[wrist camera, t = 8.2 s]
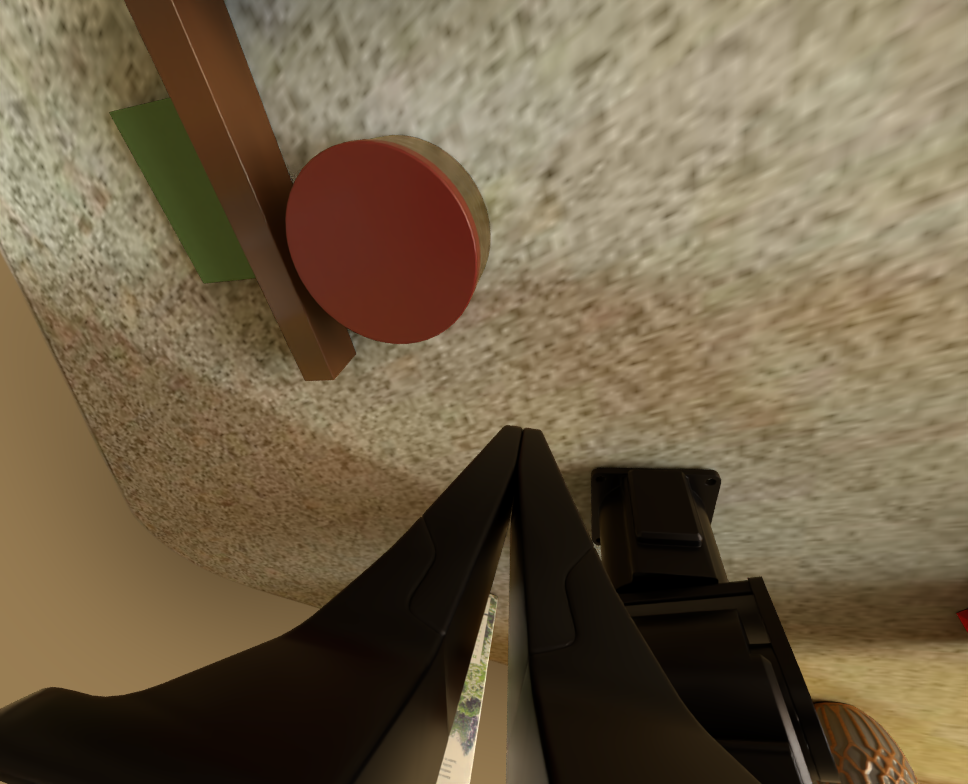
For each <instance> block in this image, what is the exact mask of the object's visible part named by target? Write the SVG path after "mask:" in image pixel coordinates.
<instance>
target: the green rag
mask: <svg viewBox="0 0 968 784" xmlns="http://www.w3.org/2000/svg"><path fill="white" fill-rule="evenodd" d="M110 115H111V117H112V119H113V120H114V122H115V124H116V126H117V128H118V130H119V131H120V133H121V135H122V137H123V139H124V140H125V142H126V144H127V146H128V148H129V149H130V151H131V153H132V155H133V157H134V158H135V160H136V162H137V164H138V166H139V167H140V169H141V171H142V173H143V175H144V176H145V178H146V180H147V182H148V184H149V186H150V187H151V189H152V191H153V193H154V195H155V196H156V198H157V200H158V202H159V204H160V205H161V207H162V209H163V211H164V213H165V214H166V216H167V218H168V220H169V222H170V223H171V225H172V227H173V229H174V231H175V232H176V234H177V236H178V238H179V240H180V242H181V243H182V245H183V247H184V249H185V251H186V252H187V254H188V256H189V258H190V260H191V261H192V263H193V265H194V267H195V269H196V270H197V272H198V274H199V276H200V278H201V279H202V281H203V283H214V282H223V281H233V280H243V279H252V278H256V277H255V275H254V273H253V270H252V268H251V266H250V264H249V262H248V260H247V258H246V256H245V254H244V252H243V249H242V247H241V245H240V243H239V241H238V239H237V237H236V235H235V233H234V231H233V228H232V226H231V224H230V222H229V220H228V218H227V216H226V214H225V212H224V209H223V207H222V205H221V203H220V201H219V199H218V197H217V195H216V193H215V191H214V188H213V186H212V184H211V182H210V180H209V178H208V176H207V174H206V172H205V170H204V167H203V165H202V163H201V161H200V159H199V157H198V155H197V153H196V151H195V149H194V146H193V144H192V142H191V140H190V138H189V136H188V134H187V132H186V130H185V128H184V125H183V123H182V121H181V119H180V117H179V115H178V113H177V111H176V109H175V107H174V104H173V102H172V100H171V98H166V99H162V100H158V101H154V102H150V103H146V104H141V105H137V106H133V107H129V108H125V109H120V110H116V111H112V112H110Z"/></svg>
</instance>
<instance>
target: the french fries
mask: <svg viewBox="0 0 968 784" xmlns="http://www.w3.org/2000/svg"><path fill="white" fill-rule="evenodd" d="M956 614H957V615H958V617H959V619H960V620H961V622H962V624H963V625H964V627H965V629H966V631H967V632H968V609H967V610H964V611H961V612H958V613H956Z"/></svg>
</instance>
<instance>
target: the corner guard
mask: <svg viewBox="0 0 968 784" xmlns="http://www.w3.org/2000/svg"><path fill="white" fill-rule="evenodd" d="M124 1H125V4H126V6H127V8H128V10H129V12H130V14H131V16H132V18H133V20H134V22H135V25H136V27H137V29H138V31H139V33H140V35H141V37H142V39H143V41H144V43H145V46H146V48H147V50H148V52H149V54H150V56H151V58H152V60H153V62H154V64H155V67H156V69H157V71H158V73H159V75H160V77H161V79H162V81H163V83H164V86H165V88H166V90H167V92H168V94H169V96H170V98H171V100H172V102H173V104H174V107H175V109H176V111H177V113H178V115H179V117H180V119H181V121H182V123H183V125H184V128H185V130H186V132H187V134H188V136H189V138H190V140H191V142H192V144H193V146H194V149H195V151H196V153H197V155H198V157H199V159H200V161H201V163H202V165H203V167H204V170H205V172H206V174H207V176H208V178H209V180H210V182H211V184H212V186H213V188H214V191H215V193H216V195H217V197H218V199H219V201H220V203H221V205H222V207H223V209H224V212H225V214H226V216H227V218H228V220H229V222H230V224H231V226H232V228H233V231H234V233H235V235H236V237H237V239H238V241H239V243H240V245H241V247H242V249H243V252H244V254H245V256H246V258H247V260H248V262H249V264H250V266H251V268H252V270H253V273H254V275H255V277H256V279H257V281H258V283H259V285H260V287H261V289H262V291H263V294H264V296H265V298H266V300H267V302H268V304H269V306H270V308H271V310H272V312H273V315H274V317H275V319H276V321H277V323H278V325H279V327H280V329H281V331H282V333H283V336H284V338H285V340H286V342H287V344H288V346H289V348H290V350H291V352H292V354H293V357H294V359H295V361H296V363H297V365H298V367H299V369H300V371H301V373H302V376H303V378H304V380H305V381H319V380H334V379H335V378H336V377H337V376H338V375H339V373H340V372H341V371H342V370H343V369H344V368H345V366H346V365H347V364H348V363H349V362H350V361H351V359H352V358H353V357H354V356H355V355H356V352H355V349H354V346H353V344H352V341H351V338H350V336H349V333H348V330H347V328H346V327H345V326H343V325H342V324H340V323H339V322H338V321H336V320H335V319H334V318H332V317H331V316H330V315H329V314H328V313H327V312H326V311H325V310H324V309H323V308H322V307H321V306H320V305H319V304H318V303H317V302H316V301H315V299H314V298H313V297H312V295H311V294H310V293H309V292H308V290H307V288H306V287H305V285H304V284H303V282H302V280H301V279H300V277H299V275H298V273H297V271H296V269H295V266H294V263H293V261H292V258H291V255H290V251H289V247H288V243H287V236H286V223H285V217H286V208H287V202H288V198H289V194H290V191H291V189H292V186H293V184H292V181H291V179H290V176H289V173H288V171H287V168H286V165H285V163H284V160H283V157H282V155H281V152H280V149H279V147H278V144H277V141H276V139H275V136H274V133H273V131H272V128H271V125H270V123H269V120H268V117H267V115H266V112H265V109H264V107H263V104H262V101H261V99H260V96H259V93H258V91H257V88H256V85H255V83H254V80H253V77H252V75H251V72H250V69H249V67H248V64H247V61H246V59H245V56H244V53H243V51H242V48H241V45H240V43H239V40H238V37H237V35H236V32H235V29H234V27H233V24H232V22H231V19H230V16H229V14H228V11H227V8H226V6H225V3H224V0H124Z"/></svg>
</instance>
